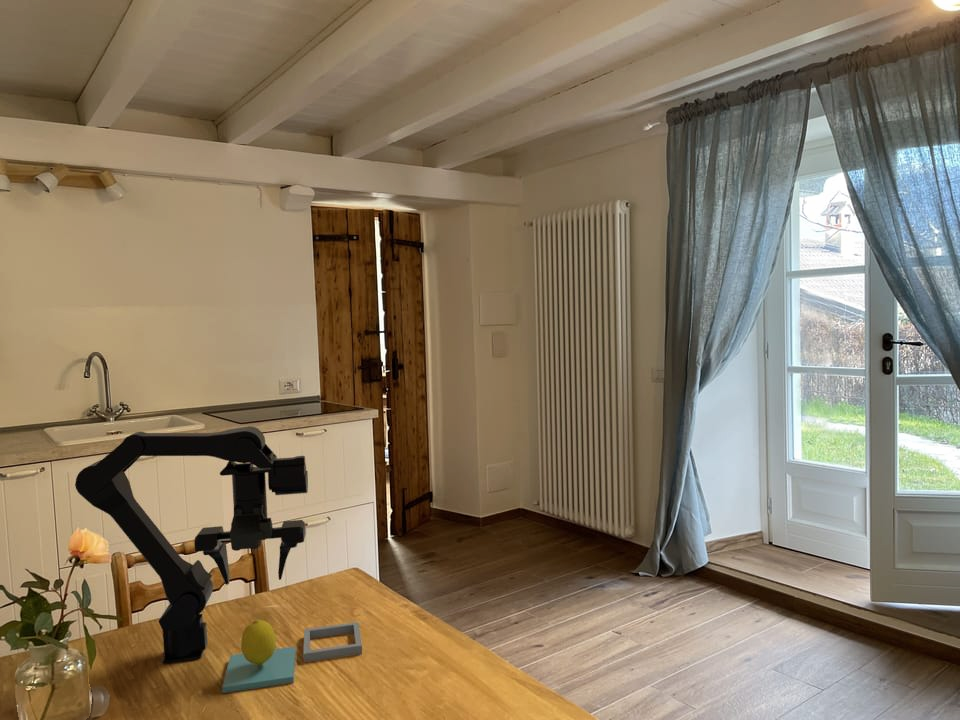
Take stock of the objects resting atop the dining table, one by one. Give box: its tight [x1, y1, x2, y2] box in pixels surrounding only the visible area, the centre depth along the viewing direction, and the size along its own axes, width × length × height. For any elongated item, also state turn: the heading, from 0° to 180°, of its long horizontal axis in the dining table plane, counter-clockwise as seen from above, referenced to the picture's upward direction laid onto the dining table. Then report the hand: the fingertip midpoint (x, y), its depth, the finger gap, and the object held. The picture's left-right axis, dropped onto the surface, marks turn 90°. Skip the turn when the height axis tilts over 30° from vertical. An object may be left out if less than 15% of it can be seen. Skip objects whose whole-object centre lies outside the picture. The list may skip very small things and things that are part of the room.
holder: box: [303, 621, 363, 663], centre depth 126 cm, size 10×10×2 cm
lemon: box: [240, 618, 277, 666], centre depth 117 cm, size 6×6×8 cm
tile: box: [221, 645, 297, 694], centre depth 117 cm, size 11×11×1 cm
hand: (254, 581), depth 126 cm, fingers open, 9 cm apart
